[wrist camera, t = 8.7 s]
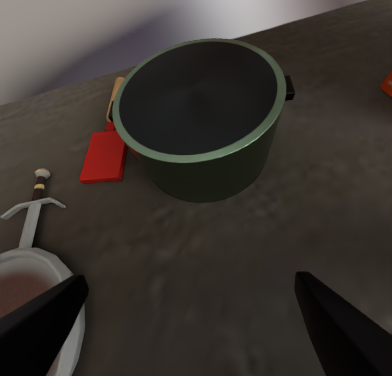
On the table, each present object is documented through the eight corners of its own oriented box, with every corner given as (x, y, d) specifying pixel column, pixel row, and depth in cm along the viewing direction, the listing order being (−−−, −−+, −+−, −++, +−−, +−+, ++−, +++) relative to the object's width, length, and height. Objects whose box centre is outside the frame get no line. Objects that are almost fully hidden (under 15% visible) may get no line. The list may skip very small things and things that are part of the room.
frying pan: (94, 149, 25) (51, 501, 12) (107, 162, 27) (82, 462, 14) (-23, 176, 26) (-181, 524, 13) (-1, 186, 29) (-113, 484, 16)
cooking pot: (287, 197, 21) (322, 150, 13) (132, 207, 23) (84, 171, 15) (264, 95, 27) (278, 24, 20) (146, 110, 30) (118, 52, 22)
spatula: (110, 86, 34) (104, 77, 32) (139, 82, 33) (134, 72, 32) (83, 183, 26) (73, 177, 24) (121, 180, 25) (114, 173, 23)
